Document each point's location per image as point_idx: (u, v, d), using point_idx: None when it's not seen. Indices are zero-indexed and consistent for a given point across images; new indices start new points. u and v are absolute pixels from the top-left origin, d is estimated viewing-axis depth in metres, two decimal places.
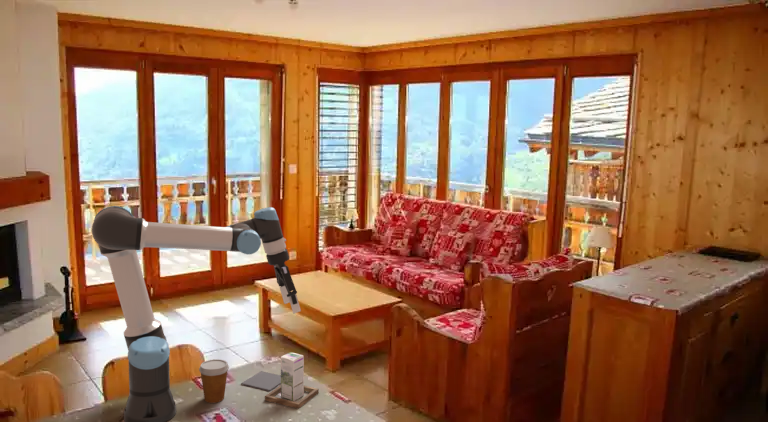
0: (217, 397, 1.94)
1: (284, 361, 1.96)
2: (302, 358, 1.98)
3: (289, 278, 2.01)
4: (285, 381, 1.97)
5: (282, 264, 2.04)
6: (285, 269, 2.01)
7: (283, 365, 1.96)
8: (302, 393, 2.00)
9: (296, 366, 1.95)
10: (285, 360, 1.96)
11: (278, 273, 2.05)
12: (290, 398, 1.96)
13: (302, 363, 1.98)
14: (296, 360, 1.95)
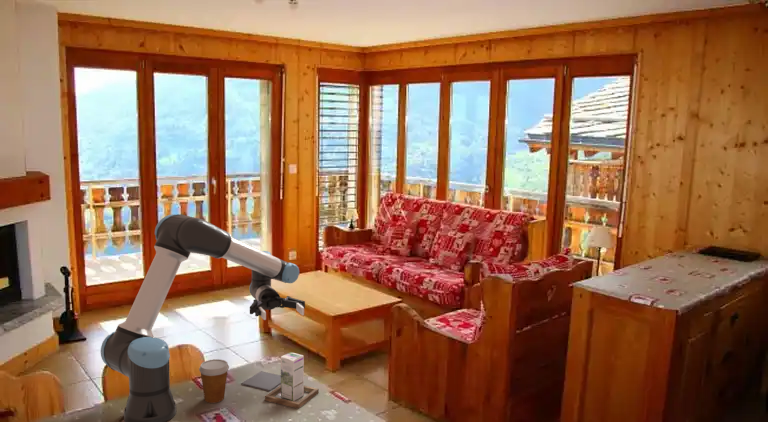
0: (217, 397, 1.94)
1: (284, 361, 1.96)
2: (302, 358, 1.98)
3: None
4: (285, 381, 1.97)
5: None
6: None
7: (283, 364, 1.96)
8: (302, 393, 2.00)
9: (296, 366, 1.95)
10: (285, 360, 1.96)
11: (278, 297, 2.18)
12: (290, 398, 1.96)
13: (302, 363, 1.98)
14: (296, 360, 1.95)
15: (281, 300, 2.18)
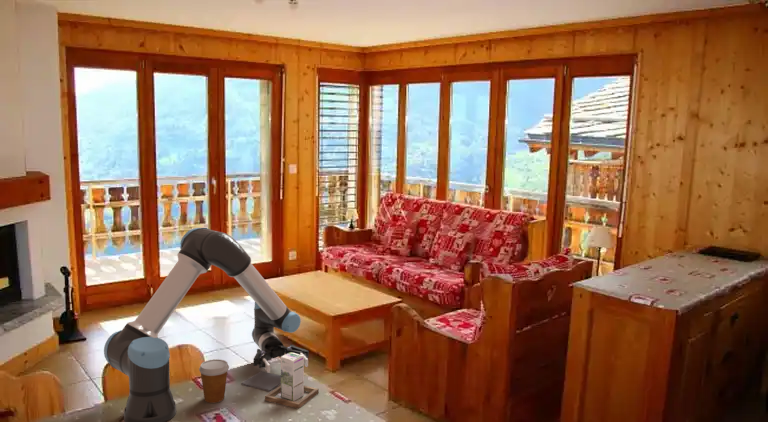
0: (217, 397, 1.94)
1: (284, 361, 1.96)
2: (302, 358, 1.98)
3: None
4: (285, 381, 1.97)
5: None
6: None
7: (283, 364, 1.96)
8: (302, 393, 2.00)
9: (296, 366, 1.95)
10: (285, 360, 1.96)
11: (282, 346, 2.17)
12: (290, 398, 1.96)
13: (302, 363, 1.98)
14: (296, 360, 1.95)
15: None
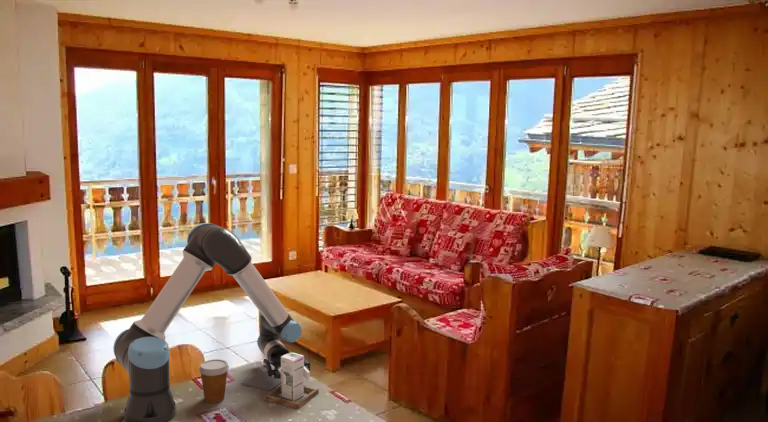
0: (217, 397, 1.94)
1: (284, 361, 1.96)
2: (302, 358, 1.98)
3: None
4: None
5: None
6: None
7: (283, 364, 1.96)
8: (302, 393, 2.00)
9: (296, 366, 1.95)
10: (285, 360, 1.96)
11: None
12: (290, 398, 1.96)
13: (302, 363, 1.98)
14: (296, 360, 1.95)
15: None
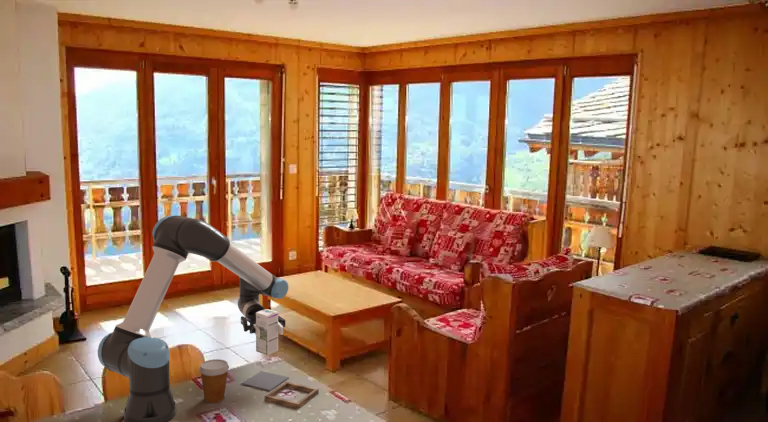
0: (217, 397, 1.94)
1: (259, 317, 2.05)
2: (276, 314, 2.07)
3: None
4: (260, 336, 2.06)
5: None
6: None
7: (258, 320, 2.05)
8: (276, 348, 2.09)
9: (270, 321, 2.04)
10: (260, 315, 2.05)
11: None
12: (265, 352, 2.05)
13: (276, 319, 2.07)
14: (270, 315, 2.04)
15: None
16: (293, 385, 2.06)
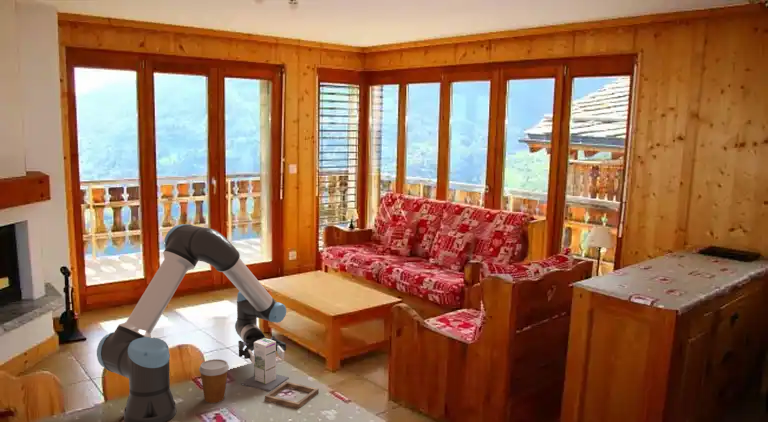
0: (217, 397, 1.94)
1: (257, 346, 2.07)
2: (274, 343, 2.09)
3: None
4: (258, 365, 2.08)
5: None
6: None
7: (256, 349, 2.08)
8: (274, 377, 2.11)
9: (268, 351, 2.07)
10: (258, 345, 2.07)
11: (262, 338, 2.20)
12: (262, 381, 2.08)
13: (274, 348, 2.09)
14: (268, 345, 2.07)
15: None
16: (293, 385, 2.06)
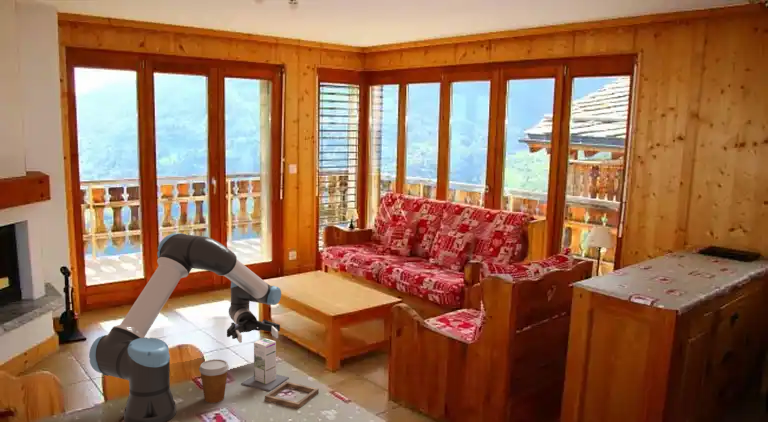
0: (217, 397, 1.94)
1: (257, 346, 2.07)
2: (274, 343, 2.09)
3: None
4: (258, 365, 2.08)
5: None
6: None
7: (256, 349, 2.08)
8: (274, 377, 2.11)
9: (268, 351, 2.07)
10: (258, 345, 2.07)
11: (255, 321, 2.31)
12: (262, 381, 2.08)
13: (274, 348, 2.09)
14: (268, 345, 2.07)
15: None
16: (293, 385, 2.06)
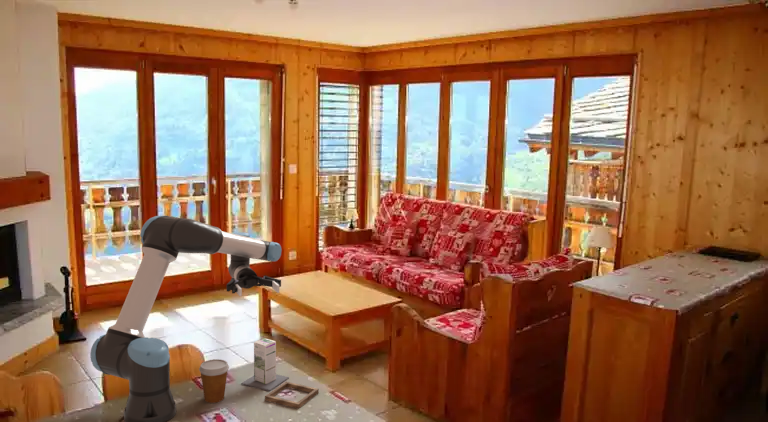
0: (217, 397, 1.94)
1: (257, 346, 2.07)
2: (274, 343, 2.09)
3: None
4: (258, 365, 2.08)
5: None
6: None
7: (256, 349, 2.08)
8: (274, 377, 2.11)
9: (268, 351, 2.07)
10: (258, 345, 2.07)
11: (255, 276, 2.24)
12: (262, 381, 2.08)
13: (274, 348, 2.09)
14: (268, 345, 2.07)
15: (258, 279, 2.24)
16: (293, 385, 2.06)
